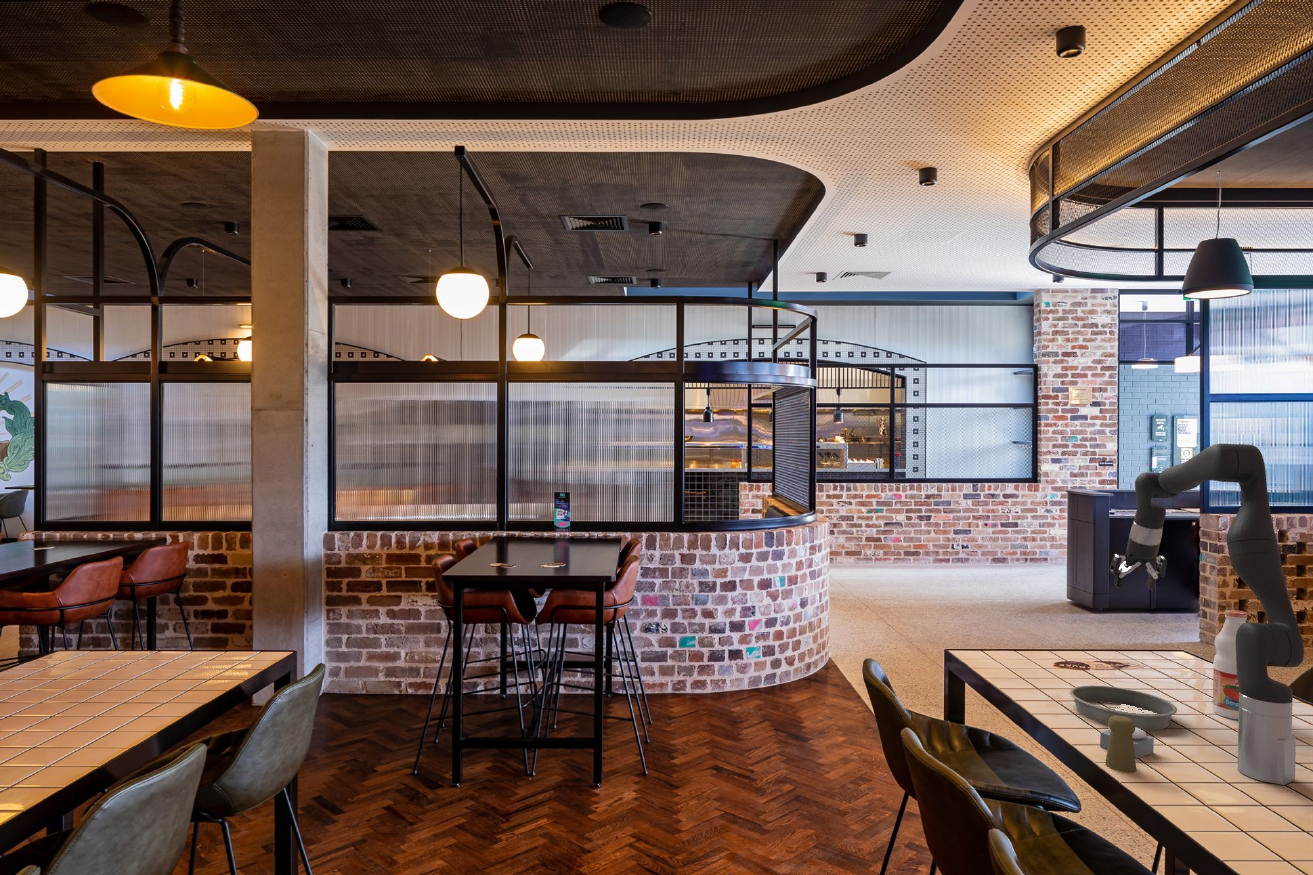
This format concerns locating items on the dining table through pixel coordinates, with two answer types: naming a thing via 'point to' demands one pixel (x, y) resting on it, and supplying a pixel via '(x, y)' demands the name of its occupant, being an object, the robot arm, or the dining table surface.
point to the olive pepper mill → (1121, 745)
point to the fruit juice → (1227, 667)
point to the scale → (1140, 742)
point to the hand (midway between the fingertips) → (1133, 587)
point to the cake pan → (1123, 697)
